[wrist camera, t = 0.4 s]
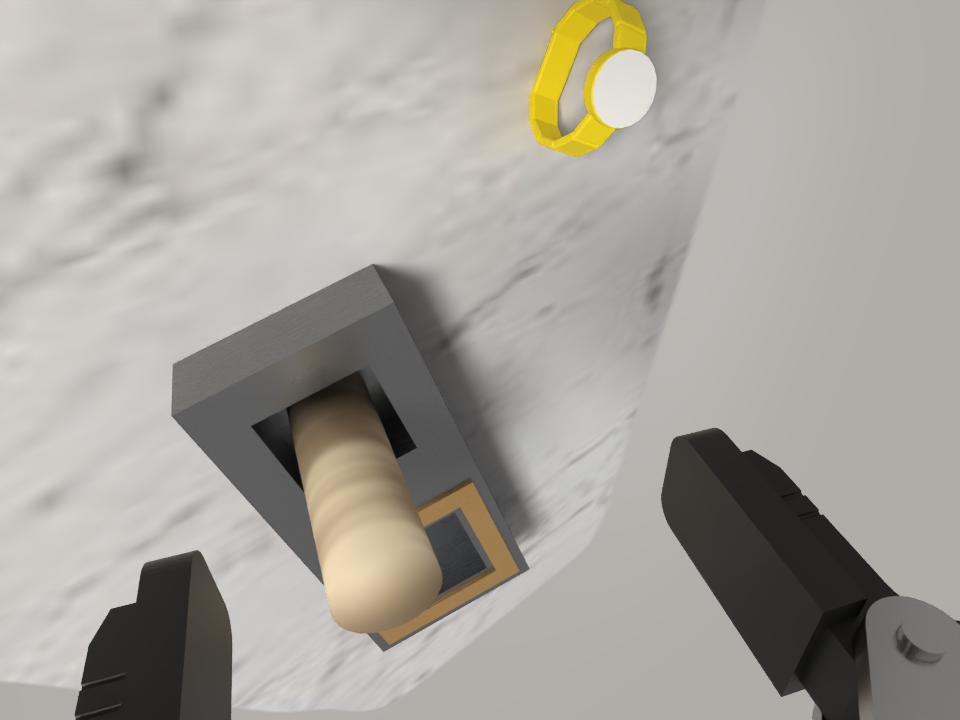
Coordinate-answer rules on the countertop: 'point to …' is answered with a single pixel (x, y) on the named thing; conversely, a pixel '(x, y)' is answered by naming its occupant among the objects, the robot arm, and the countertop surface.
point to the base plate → (401, 408)
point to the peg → (361, 511)
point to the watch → (594, 78)
